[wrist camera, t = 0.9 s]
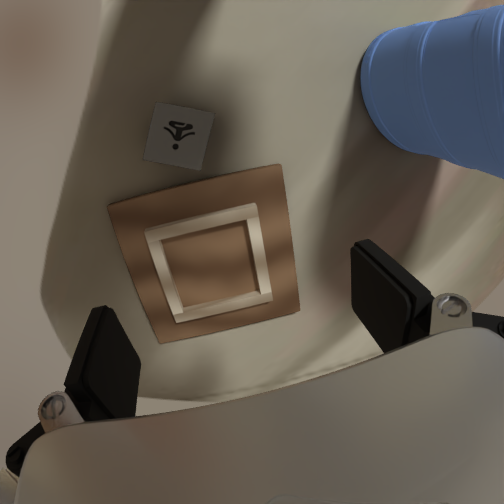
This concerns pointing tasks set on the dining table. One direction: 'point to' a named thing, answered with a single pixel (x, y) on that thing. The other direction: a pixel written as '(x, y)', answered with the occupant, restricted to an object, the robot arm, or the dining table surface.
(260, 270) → the pocket board
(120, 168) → the dining table surface
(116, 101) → the dining table surface
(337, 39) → the dining table surface
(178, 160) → the dice cube
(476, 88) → the water jug
